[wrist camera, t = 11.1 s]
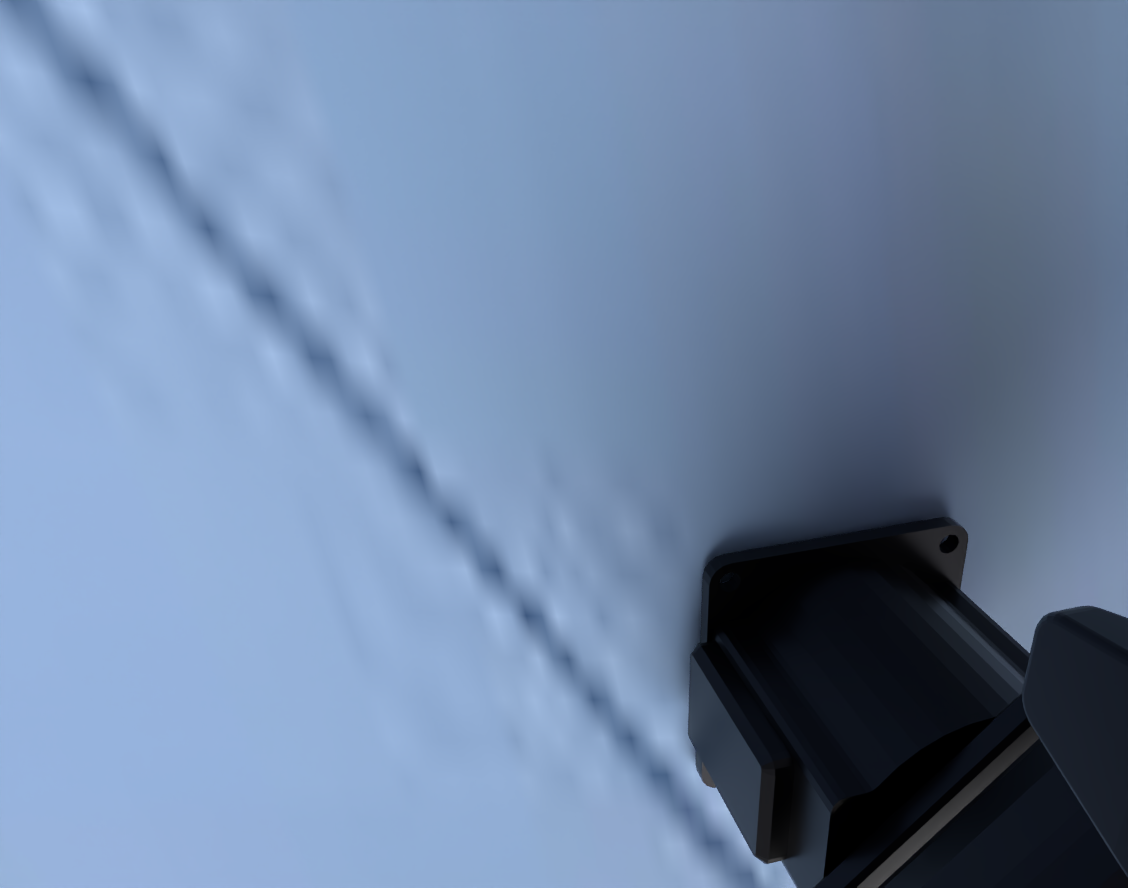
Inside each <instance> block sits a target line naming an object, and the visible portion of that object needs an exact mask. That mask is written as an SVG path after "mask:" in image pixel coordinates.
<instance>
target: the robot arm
mask: <svg viewBox="0 0 1128 888" xmlns="http://www.w3.org/2000/svg"><path fill="white" fill-rule="evenodd" d="M948 535H949V536H948ZM946 536H948V538H947V540H946V541H945V542H944V543H942V544H940V543H941V541H942V540H943V539H944V538H945V537H946ZM967 544H968V534H967V532H966V530H965V529H964V528H963V527H962V526H961V525H959V524H958V523H957V522H956V521H954V520H953V519H951V518H945V517H942V518H936V519H930V520H924V521H918V522H912V523H906V524H900V525H894V526H888V527H883V528H877V529H871V530H865V531H859V532H853V533H847V534H841V535H835V536H829V537H823V538H817V539H811V540H805V541H800V542H794V543H788V544H782V545H776V546H770V547H764V548H758V549H752V550H746V551H740V552H734V553H728V554H723V555H720V556H718V557H715V558H714V559H713V560H711V561H710V562H709V563H708V565H707V566H706V567H705V569H704V572H703V576H702V602H701V630H700V643H699V644H697V645H696V646H695V648H694V650H693V651H692V653H691V656H690V687H689V719H688V735H689V738H690V740H691V742H692V744H693V746H694V747H695V749H696V768H697V771H698V773H699V775H700V777H701V779H702V781H703V782H704V783H705V784H706V785H707V786H709V787H712V788H715V787H716V788H717V789H718V791H719V793H720V795H721V797H722V799H723V800H724V802H725V804H726V806H727V808H728V809H729V811H730V813H731V815H732V817H733V819H734V820H735V822H736V824H737V826H738V828H739V830H740V831H741V833H742V835H743V837H744V839H745V841H746V842H747V844H748V846H749V848H750V850H751V851H752V853H753V855H754V856H755V857H756V858H758V859H759V860H761V861H762V862H763V863H765V864H769V863H773V862H777V861H782V863H783V865H784V866H785V868H786V870H787V871H788V873H789V875H790V877H791V878H792V880H793V882H794V884H795V885H796V887H797V888H1128V618H1126V617H1123V616H1121V615H1118V614H1115V613H1112V612H1109V611H1106V610H1104V609H1101V608H1098V607H1094V606H1080V607H1075V608H1070V609H1065V610H1060V611H1055V612H1051V613H1048V614H1047V615H1045V616H1043V617H1042V619H1041V620H1040V621H1039V623H1038V624H1037V627H1036V629H1035V633H1034V638H1033V642H1032V647H1031V651H1030V653H1029V652H1027V651H1026V650H1025V649H1024V648H1023V647H1022V646H1021V645H1020V644H1019V643H1018V642H1017V641H1015V640H1014V639H1013V638H1012V637H1011V636H1010V635H1009V634H1008V633H1007V632H1006V631H1005V630H1003V629H1002V628H1001V627H1000V626H999V625H998V624H997V623H996V622H995V621H994V620H992V619H991V618H990V617H989V616H988V615H987V614H986V613H985V612H984V611H983V610H982V609H980V608H979V607H978V606H977V605H976V604H975V603H974V602H973V601H972V600H971V599H970V598H968V597H967V596H966V595H965V594H964V593H963V592H962V591H961V590H960V587H961V581H962V575H963V568H964V562H965V556H966V550H967ZM729 573H733V576H732V577H731V578H730V579H729V580H728V581H726V582H724V583H720V581H721V579H722V578H723V577H724V576H725V575H726V574H729Z"/></svg>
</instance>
